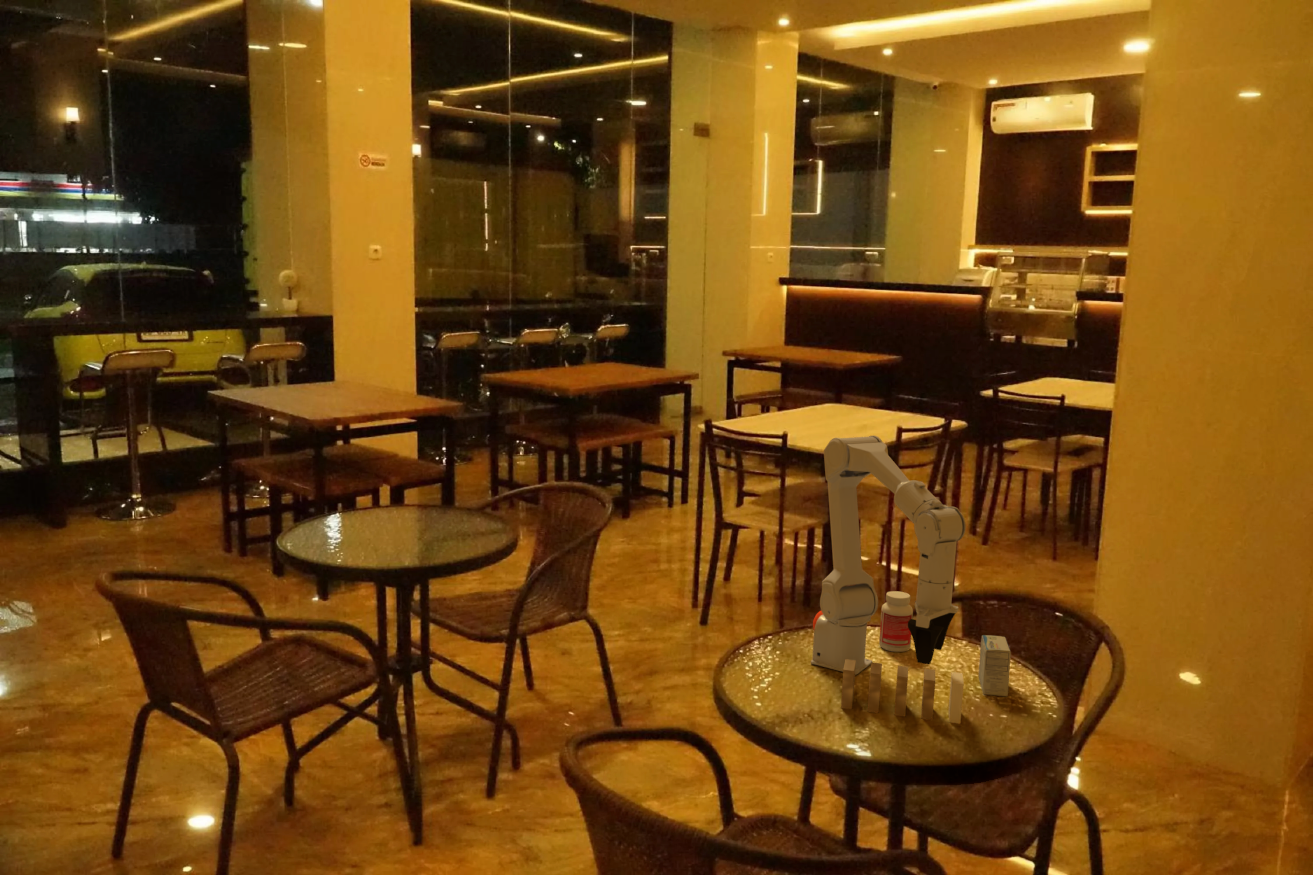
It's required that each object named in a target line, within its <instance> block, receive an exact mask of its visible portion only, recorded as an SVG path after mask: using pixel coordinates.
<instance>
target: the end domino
mask: <svg viewBox="0 0 1313 875" xmlns="http://www.w3.org/2000/svg"><path fill="white" fill-rule="evenodd" d="M963 675H964V674H963V672H956V671H951V676H950V687H949V688H950V689H949V699H948V722H949V723H953V724H959V725H960V724H961V723H962V722H961V720H962V709H963V708H962V707H963V697H964V695H963V694H964V676H963Z"/></svg>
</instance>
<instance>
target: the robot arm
mask: <svg viewBox="0 0 1313 875" xmlns="http://www.w3.org/2000/svg"><path fill="white" fill-rule="evenodd" d="M823 458H824V459H823V460H824V471H825V480H826V482H827V492H828V505H829V523H830V524H829V525H830V537H831V550H832V565H833V566H832V567H833V569H832V571H831V572H830V573H829V574H828V575H827V576H826V577H825V578H824V579H823V580H822V581H821V594H820V598H819V607H820V611H822V613H823V615H821V616H820V617H819V618H818V620H817V622H816V625H815V629H814V630H813V644H812V645H813V646H812V658H811V660H810V664H812V665H815V666H819V667H824V668H827V669H831V670H834V671H838V672H842V673H843V669H844V664H845V659H848V660H856V667H855V676H857V675H858V674H859V673H861V672H862V671H864V670H865V669H866V668H868V667H869V666H871V662H873V660H872V659H869V658H866V647H867V646H866V644H867V632H868V631H867V630H868V629H867V628H868V622H871V621H872V620H871V618H872V616H874V615H875V614H876V612H877V611H878V606H879V605H878V604H879V597H878V595H877V591H876V589H875V585H874V584H875V583H874V578H873V577H872V576H871V575H870V574H868V573H867V572H866V571H865V570H864V569H863V564H862V550H861V536H860V534H861V533H860V523H859V522H860V521H859V520H860V519H859V507H858V506H859V504H858V493H857V492H858V491H857V487H858V485H860V484H861V482H862V480H864V478H867V477H868V476H869V475H872V476H873V477H874V478H876V479H877V480H878V481H879V482H881V484H883V485H884V486H885V488H887V489H888V490H889V491H890V492H891V493H893V494H894V496H893V502H894V504H895V505H896V506H897V508H898V509H899V510H900V511H901V513H903V514H904V515H905V516H906V517H907V518H908V519H909V521H911V522H912V524H913V527H914V533H915V537H916V538H917V550H918V552H919V564H918V574H917V575H918V576H917V577H918V578H917V590H916V600H915V602H914V608H915V612H916V616H915V617H916V619H914V618H913V619H910V620H909V621H908V628H909V630H910V632H911V638H912V640H913V646H914V649H915V650H914V651H915V657H916V662H917V663H920V664H924V665H927V666H928V665H930V664H931V662H932V660H933V657H934V653H935V650H937V651H941V650H942V648H943V647H944V643H945V639H946V636H947V632H948V630H949V627H950V625H951V623H952V622H951V621H952V620H953V619H954V616H955V615H956V614H957V613H958V612H959V606H958V605H957V606H956V605H953V604H952V598H953V589H954V576H955V566H956V553H957V543H958V541H961V539H962V538H963V537H964V536H965V533H966V529H967V528H966V526H967V525H966V519H965V517H964V515H963V513H962V512H961V511H960V509H959V508H958V507H955V506H948V505H947V504H943V503H942V501H940V499H938V498H936V496H935V495H933V493H932V492H931V491H930V490H929V489H928V488H927V487H926V486H927V485H926V484H925V483H924V482H923V481H920V480H915V479H913V480H912V479H911V480H909V478H908V477H907V476H906V474H905V473H904V472H903V471H902V470H901V468H900V467H899V466H898V465H897V464H896V463H895V461H893V459H892V457H890V456H889V450H888V445H887V444H886V443H885V442H883V441H882V439H881V438H880V437H879V436H877V435H870V436H869V435H868V436H858V437H857V436H856V437H854V436H853V437H834V438H831V439H830V441H829V442H828V443H827V445H826V446H825V448H824V449H823Z"/></svg>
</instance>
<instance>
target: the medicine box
mask: <svg viewBox="0 0 1313 875" xmlns="http://www.w3.org/2000/svg"><path fill="white" fill-rule="evenodd" d="M979 652H980V653H979V661H978V662H979V663H978V664H979V666H978V680H979V684H980V687H981V691H982V694H983V695H988V696H994V697H995V696H997V697H998V696H999V697H1008V696H1009V695H1008V694H1009V682H1010V669H1011V668H1010V667H1011V658H1012V657H1011V655H1012V652H1011V649H1010V646H1009V643H1008V640H1007V638H1006V637H1005V636H1001V635H991V634H990V635H986V634H983V635H981V639H980V650H979Z"/></svg>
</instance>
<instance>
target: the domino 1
mask: <svg viewBox="0 0 1313 875" xmlns="http://www.w3.org/2000/svg"><path fill="white" fill-rule="evenodd" d="M855 667H856V660H848V659H845V664H844V669H843V672H842V682H841V683H842V684H841V685H842V686H841V702H840V709H845V710H852V708H853V704H854V702H853V701H854V697H855V696H854V694H855V681H856V680H855V678H856V675H855Z"/></svg>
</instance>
